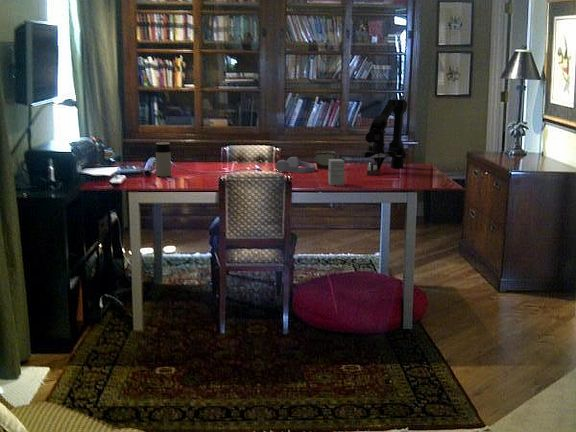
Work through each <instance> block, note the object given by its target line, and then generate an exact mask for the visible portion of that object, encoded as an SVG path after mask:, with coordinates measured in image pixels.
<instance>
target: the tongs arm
mask: <svg viewBox="0 0 576 432" xmlns="http://www.w3.org/2000/svg"><path fill="white" fill-rule="evenodd" d="M372 174H373V176H378V169H377V166H376V165H373V169H372Z"/></svg>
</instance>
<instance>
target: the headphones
mask: <svg viewBox="0 0 576 432" xmlns="http://www.w3.org/2000/svg"><path fill="white" fill-rule="evenodd" d="M275 169H276V171H277V170H278V171H282V172H284V173H286V172H290V173H291V172H292V173H299V174H303V173H304V174H308V173H309V174H310V173H314V172H316V165H315V164H314V163H310V162H306V161H302V160H300V159H299V158H298V157H297V156H290V157H289V158H287V160H284V159H280V160H278V161H277V162H276V163H275ZM278 171H277V172H278ZM313 171H314V172H313ZM282 172H281V173H282Z"/></svg>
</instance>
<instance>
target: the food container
mask: <svg viewBox="0 0 576 432" xmlns="http://www.w3.org/2000/svg"><path fill="white" fill-rule="evenodd" d="M314 156H315V159H316V170H328V166H329V159H336V158H335V157H336V156H337V154H336V151H332V150H317V151H315V152H314Z"/></svg>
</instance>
